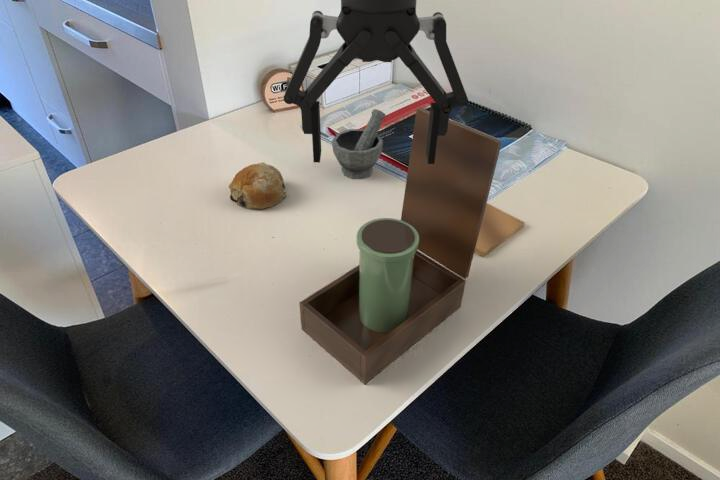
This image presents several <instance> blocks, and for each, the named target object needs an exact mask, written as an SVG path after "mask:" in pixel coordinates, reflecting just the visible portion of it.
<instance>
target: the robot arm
mask: <svg viewBox="0 0 720 480" xmlns="http://www.w3.org/2000/svg"><path fill="white" fill-rule="evenodd" d="M333 30H336V31H337V33H338V34H339V36H340V37H341V39H342V40H343V41H344V42H343V43H342V44H341V46H340V47H339V48H338V50H337V51H336V53H335V54H334V55H333V56H332V58H331V59H330V60H329V61H328V62H327V63H326V65H325V66H324V67H323V68H322V70H321V71H320V72H319V73H318V74H317V76H316V77H314V79H313V80H312V82H311V83H310V84H309V85H308V86H307V87H306V89H304V90H301V88H302V85H303V84H304V81H305V78H306V76H307V74H308V72H309V70H310V68H311V65H312V63H313V61H314V59H315V57H316V55H317V52H318V50H319V48H320V45H321V42H322V39H327V38H329V36H330V34H331V32H332V31H333ZM419 31H422V32H424V34H425V37H426V39H428V40H430V41H433V43H434V46H435V50H436V52H437V54H438V57H439V60H440V62H441V65H442V67H443V70H444V72H445V75H446V78H447V80H448V83H449V86H450V89H451V90H452V91H450V92H447V91H446V90H445V89H444V88H443V86H442V85H441V84H440V82H439V81H438V79H437V78H436V77H435V76H434V74H433V73H432V72H431V71H430V69H429V68H428V67H427V65H426V64H425V63H424V61H423V60H422V59H421V58H420V56H419V55H418V53H417V52H416V50H415V48H414V47H413V45H411V42H412V41H413V40H414V39H415V37H416V36H417V35H418V33H419ZM355 58H357V59H359V61H360V60H361V61H362V63H371V62H375V61H379V62H382V63H392V62H393V61H394V60H397V59H399V60H400V61H401V62H402V63H403V64H404V66H405V67H406V68H408V69H409V71H410V72H411V73H412V75H413V76H414V77H415V78H416V80H417V81H418V82H419V83H420V85H421V86H422V88H424V90H425V91H426V93H427V94H428V95H429V96H430V98H431V99H432V100H433V102H430V109H429V111H430V118H429V128H428V137H427V147H426V156H427V161H428V164H434V163H435V154H436V145H437V136H445V135H446V133H447V129H448V121H449V119H450V113H452V111H453V108H455V107H465V106H466V105H467V104H468V103H469V98H468V95H467V93H466V90H465V88H464V84H463V82H462V79H461V77H460V74H459V72H458V69H457V66H456V64H455V61H454V58H453V56H452V53H451V50H450V47H449V45H448V42H447V21H446V19H445V16H444V15H443V13H442V12H440V11H437V12H435V13H433V14H432V15H431V16H422V17H418V15H417V0H340V12H339V14H338V16H333V15H327V14H324V13H323V12H322V11H321V10H315V11H313V12H312V15H311V17H310V22H309V36H308V39H307V41H306V43H305V45H304V48H303V49H302V51H301V55H300V56H299V58H298V61H297V63H296V66H295V68H294V70H293V72H292V75H291V77H290V79H289V82H288V83H287V85H286V88H285V90H284V95H283V101H284V103H285V104H287V105H292V104H293V105H295V106H297V107H299V109H300V114H301V127H302V128H301V129H302V132H303V134H304V135H311V136H312V137H311V139H312V140H311V141H312V157H313V158H312V160H313V161H312V162H313V163H321V158H322V157H321V156H322V135H321V133H322V132H321V131H322V130H321V113H320V112H321V107H320V106H321V105H320V101H319V99H320V97H321V96H322V95H323V94H324V93H325V92H326V90H327V89H328V88H329V87H330V85H331V84H333V82H334V81H335V80H336V79H337V78H338V76H339V75H340V74H341V73H342V71H343V70H344V69H345V68H347V67H348V66H349V65H350V64H351V63H352V62H353V60H354V59H355Z"/></svg>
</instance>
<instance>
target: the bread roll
mask: <svg viewBox="0 0 720 480" xmlns="http://www.w3.org/2000/svg"><path fill="white" fill-rule="evenodd" d="M284 181H285V180H284V177H283V175H282V173H281V171H280V170H279V169H278V168H277V167H275V166H273V165H271V164H267V163H266V162H258V163H252V164H249V165H247V166H245V167H243V168H242V169H240V170H239V171H238V172H236V174H235V175H234V177H233V179H232V181H231V183H230V184H229V185H228V188H229V190H230V191H229V192H230V195H229V200H230V201H231V202H233V203H236V204H237V206H239V207H242V208H245V209H249V210H264V209H266V208H270V207H274V206H276V205H278V204H280V203H281V202H282V201H283V199H285V198H287V195H288V193H287V191H285V188H286V186H285V182H284Z"/></svg>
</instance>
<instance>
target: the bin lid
mask: <svg viewBox="0 0 720 480" xmlns="http://www.w3.org/2000/svg"><path fill="white" fill-rule="evenodd" d="M429 118H430V110H428V109H426V108H424V107H421V106H420V107H417V108H416V110H415V117H414V126H413V133H412V139H411V146H410V151H409V152H410V154H409V160H408V168H407V175H406V181H405V187H404V188H405V189H404V195H403V201H402V209H401V217H400V220H402V221H404V222H406V223H408V224H410V225H411V226H413V227H414V228H415V229H416V231H417V232H418V234H419V246H418V249H417V251H419V252H421V253H422V254H424V255H425V256H427V257H429V258H430V259H432V260H433V261H435V262H437V263H438V264H440V265H441V266H443V267H445V268H446V269H448V270H449V271H451V272H453V273H454V274H456V275H458V276H459V277H461V278H462V279H464V280H466V279H467V278H468V277H469V274H470V271H471V266H472V263H473V258H474V256H475V252H474V251H475V247H476V243H477V239H478V235H479V231H480V227H481V223H482V219H483V215H484V211H485V207H486V204H488V199H489V195H490V191H491V187H492V183H493V179H494V175H495V173H496V167H497V164H498V160H499V156H500V152H501V148H502V143H503V141H502V140H500V139H498V138H497V137H495V136H493V135H490V134H488V133H485V132H483V131H481V130H478V129H476V128H473V127H471V126H469V125H467V124H463V123H462V122H459V121H456V120H454V119H450V118H449V121H448V129H447V133H446V135H445V136H437V145H436V154H435V163H434V164H428V161H427V156H426V147H427V137H428V128H429Z"/></svg>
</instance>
